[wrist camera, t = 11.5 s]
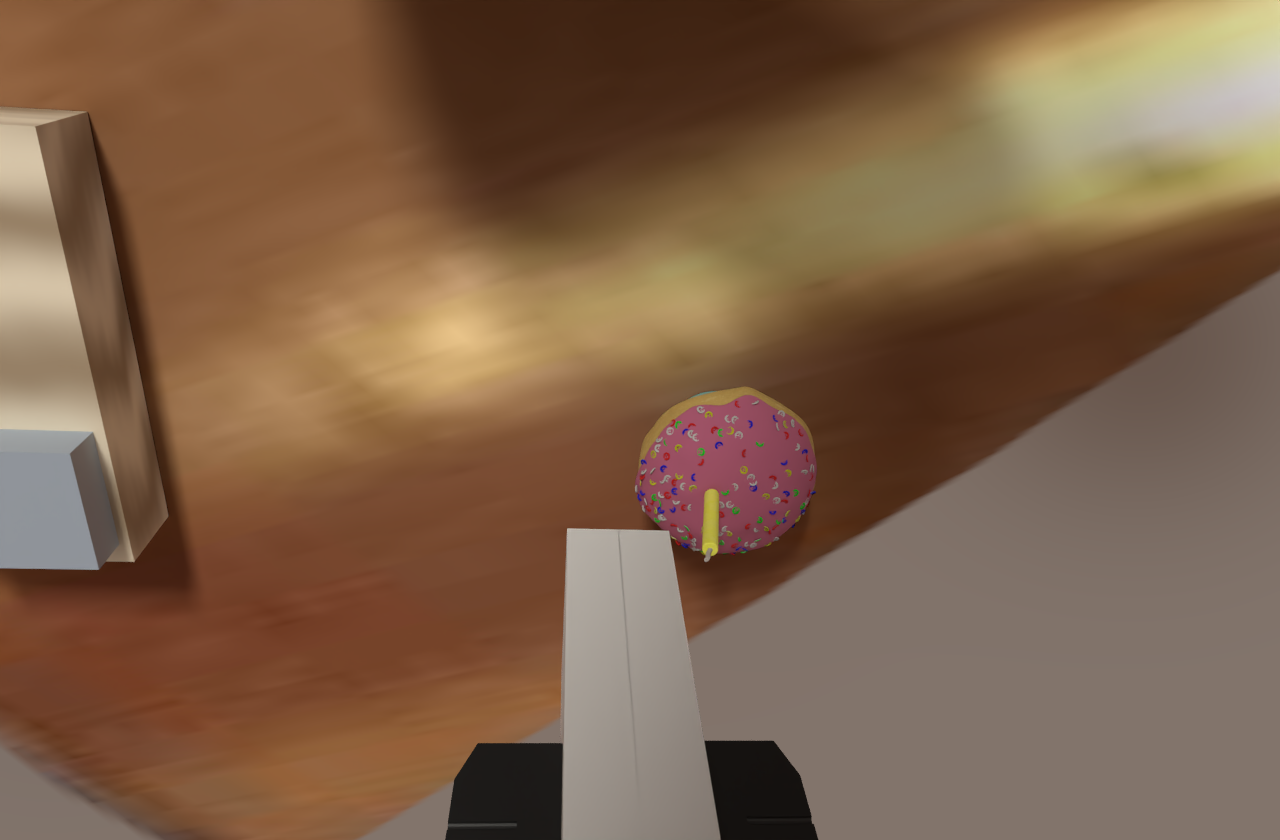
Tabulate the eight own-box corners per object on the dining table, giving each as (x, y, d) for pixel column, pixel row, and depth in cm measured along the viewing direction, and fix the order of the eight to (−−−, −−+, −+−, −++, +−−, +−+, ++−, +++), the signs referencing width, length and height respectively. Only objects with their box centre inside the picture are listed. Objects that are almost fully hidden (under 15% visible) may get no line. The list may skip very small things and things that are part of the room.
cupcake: (616, 486, 47) (628, 638, 36) (652, 339, 43) (677, 459, 32) (770, 510, 48) (826, 663, 37) (817, 369, 44) (894, 495, 34)
